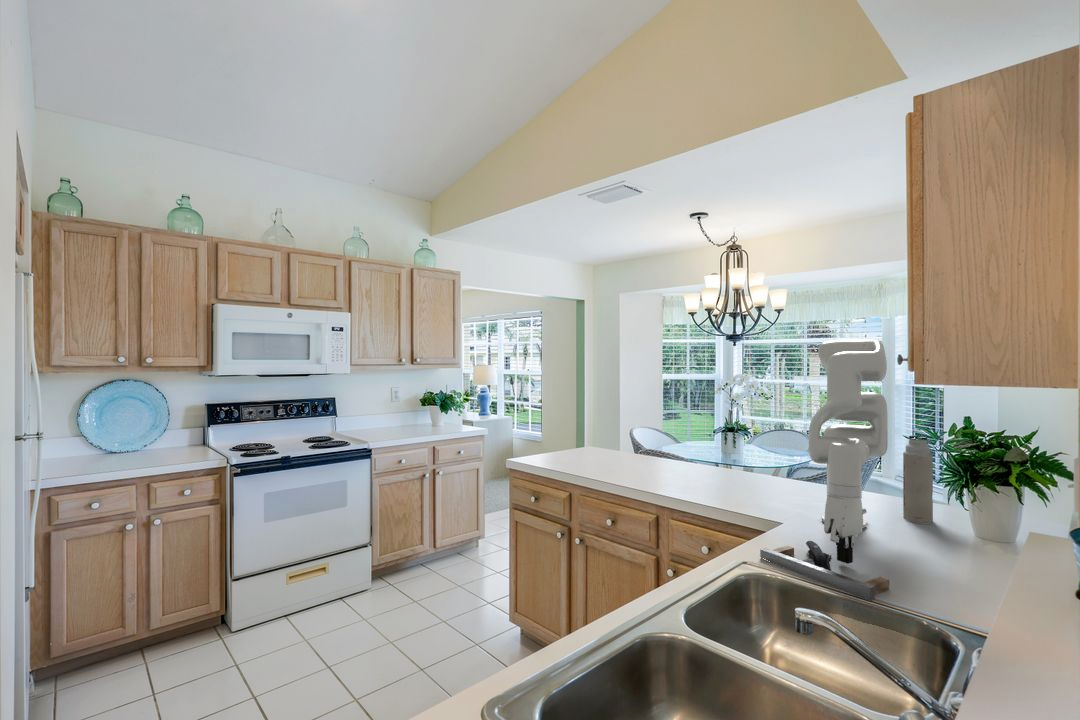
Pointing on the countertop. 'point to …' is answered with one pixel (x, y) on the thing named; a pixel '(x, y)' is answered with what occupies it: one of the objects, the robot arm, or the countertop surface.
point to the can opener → (818, 556)
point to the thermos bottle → (918, 482)
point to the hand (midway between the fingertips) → (844, 561)
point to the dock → (825, 574)
